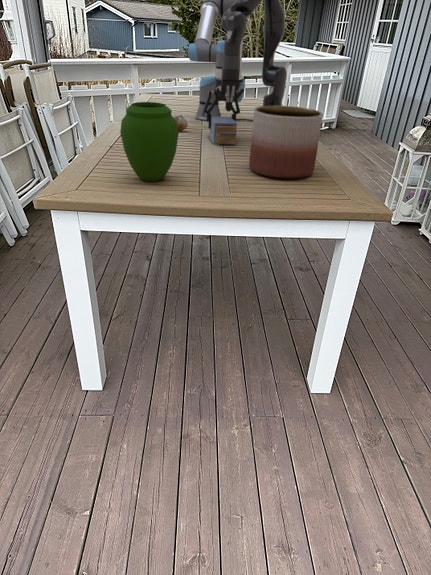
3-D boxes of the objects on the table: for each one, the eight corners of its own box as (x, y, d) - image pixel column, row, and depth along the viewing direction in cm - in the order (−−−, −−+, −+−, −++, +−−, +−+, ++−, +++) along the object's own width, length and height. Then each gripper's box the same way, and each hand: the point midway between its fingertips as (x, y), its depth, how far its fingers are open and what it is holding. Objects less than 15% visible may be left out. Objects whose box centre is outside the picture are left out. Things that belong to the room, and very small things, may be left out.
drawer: (237, 146, 190) (238, 128, 186) (217, 146, 188) (218, 128, 184) (229, 136, 206) (230, 120, 202) (211, 136, 205) (212, 120, 201)
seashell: (187, 130, 219) (187, 114, 215) (188, 132, 214) (188, 116, 210) (169, 129, 218) (169, 113, 214) (170, 131, 213) (169, 115, 209)
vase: (131, 189, 135) (125, 110, 122) (118, 172, 150) (112, 100, 137) (186, 184, 142) (187, 109, 129) (169, 168, 157) (167, 99, 144)
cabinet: (235, 144, 197) (236, 123, 192) (213, 144, 195) (214, 122, 190) (229, 136, 210) (230, 116, 205) (209, 136, 209) (209, 116, 204)
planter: (323, 180, 153) (335, 117, 141) (257, 181, 149) (264, 116, 137) (300, 162, 174) (309, 106, 162) (242, 162, 170) (247, 104, 158)
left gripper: (199, 78, 187) (198, 129, 199) (249, 80, 191) (245, 130, 203) (197, 77, 194) (196, 126, 205) (245, 78, 197) (241, 127, 209)
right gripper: (217, 67, 170) (215, 112, 179) (248, 68, 172) (244, 112, 181) (214, 66, 176) (212, 109, 186) (244, 67, 178) (241, 110, 188)
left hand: (220, 128), depth 204 cm, fingers closed on cabinet, 11 cm apart
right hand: (228, 111), depth 183 cm, fingers closed
